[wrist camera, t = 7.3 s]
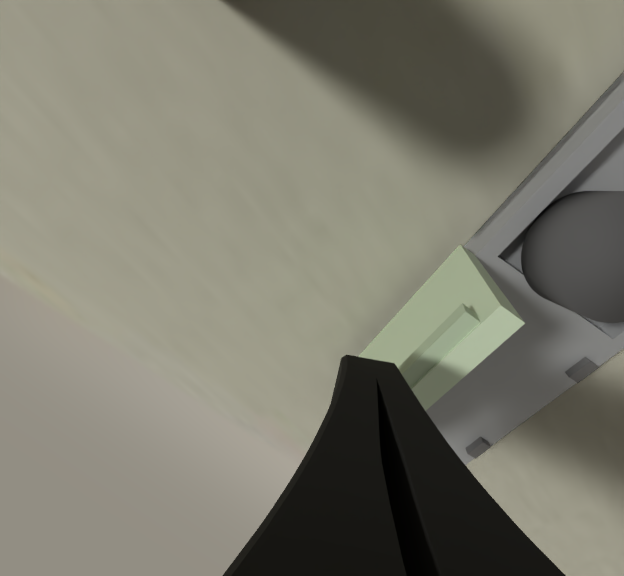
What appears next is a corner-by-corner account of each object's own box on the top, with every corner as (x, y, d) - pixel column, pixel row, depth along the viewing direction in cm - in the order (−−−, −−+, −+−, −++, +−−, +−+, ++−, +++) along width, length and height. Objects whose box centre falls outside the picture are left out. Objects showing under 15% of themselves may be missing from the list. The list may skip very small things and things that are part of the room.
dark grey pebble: (657, 222, 15) (723, 229, 13) (586, 320, 17) (635, 342, 14) (566, 169, 15) (618, 165, 12) (498, 275, 16) (534, 290, 13)
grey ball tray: (808, 171, 15) (869, 179, 13) (454, 447, 23) (463, 473, 21) (662, 29, 13) (710, 16, 11) (339, 381, 21) (339, 404, 20)
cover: (525, 323, 9) (485, 294, 9) (331, 493, 13) (302, 473, 13) (474, 254, 16) (450, 237, 16) (354, 382, 19) (335, 368, 19)
